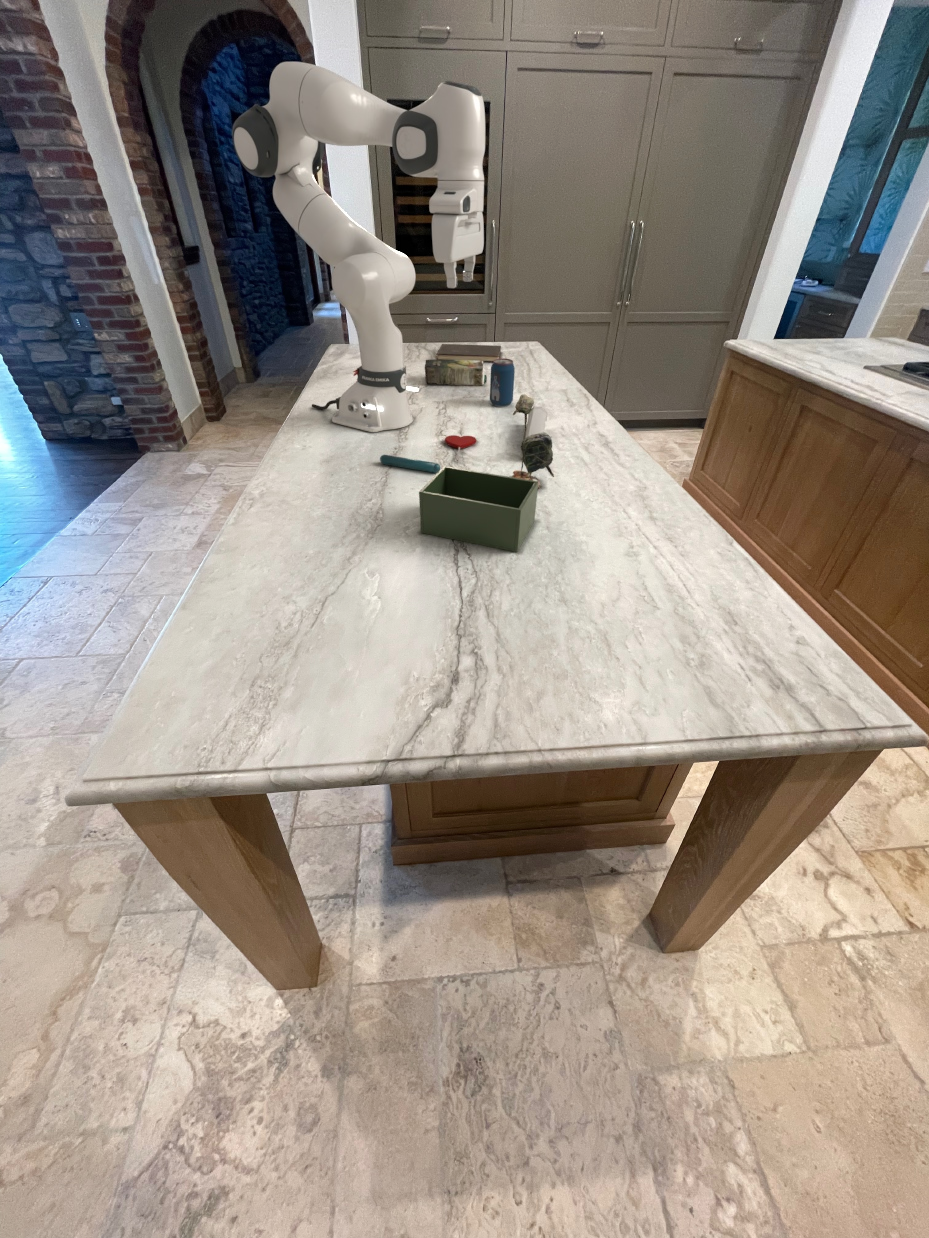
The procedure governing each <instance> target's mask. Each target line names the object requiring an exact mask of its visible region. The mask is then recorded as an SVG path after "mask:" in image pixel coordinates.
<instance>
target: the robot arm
mask: <svg viewBox="0 0 929 1238" xmlns="http://www.w3.org/2000/svg"><path fill="white" fill-rule="evenodd" d="M231 133H232V134H231V135H232V136H231V137H232V145H233V148H234V152H235V154H236V156H237V158H238V160H239V162H240V163H241V165H242V166H243V168H244V169H245V170H246V171H247V172H248V173H249V174H250V175H252V176H254V177H259V178H270V177H273V176H275V180H274V182H273V186H272V198H273V201H274V204H275V205H276V208H277V209H278V210H279V212H280V214H281V215H282V216H283V217H284V219H285V220H286V221H287V224H289V226H290V227H291V228H292V229H293V230H294V231H295V233H296V234H297V235H298V236H299V237H300V238H301V239H302V240H303V241H304V242H305V243H306V244H307V245H308V246H309V247H310V249H311V250H313V251H314V252H315V253H316V254H317V255H318V257H320V259H322V261H323V262H324V263H326V264H327V265H329V266H331V267H334V268H333V270H332V273H331V287H332V291H333V294H334V296H335V298H336V300H337V301H338V303H339V304H340V305H341V306H343V307H344V308H345V309H346V311H347V312H348V314H349V316H350V318H351V320H352V323H353V325H354V328H355V331H356V335H357V341H358V347H359V356H360V364H361V365H360V366H358V367H357V368H356V369H355V370H353V371H352V372H353V376H354V377H355V376H357V378H356V381H355V382H354V383H353V384H352V385H350V386H349V387H348V389H347V390H345V391H344V392H343V393H342V394H341V395H340V396H339V397H337V398H335V399H331V400H329V401H328V402H326V404H325V405H323V406H322V405H319V404H318V405H317V404H315V403H312V404H311V408H313V409H316V410H320V411H325V410H328V408H329V407H330V406H331V405H336V410H337V411H336V412H335V413H334V414H332V417H331V422H332V423H333V424H338V425H340V426H345V427H349V428H354V429H357V430H360V431H364V432H369V433H377V432H382V431H388V430H389V431H390V430H397V429H401V428H405V427H407V426H409V425H411V424H412V423H413V422H414V417H413V414H412V412H411V408H410V404H409V403H410V402H409V399H408V398H409V397H408V392H407V391H411V392H416V393H417V392H419V388H418V387H414V386H408V378H407V368H406V365H405V359H404V343H403V333H402V332H401V330H400V329H399V327H397V326H396V325H395V323H394V321H393V317H392V316H391V311H390V304H394V303H397V302H400V301H402V300H403V299H404V298H406V297H407V296H408V295H409V294H410V293H411V292H412V291H413V289H414V287H415V285H416V270H415V267H414V264H413V262H412V260H411V259H410V257H408V256H407V255H406V254H405V253H403V252H401V251H398V250H396V249H395V248H393V247H390V246H389V245H388V244H386V243H385V242H384V241H382V240H380V239H379V238H378V237H376V236H375V235H373V234H372V233H370V232H369V231H368V230H366V229H365V228H364V227H362V226H361V225H360V224H358V223H357V222H356V221H355V220H354V219H352V217H351V216H350V215H348V214H347V212H346V211H345V210H344V209H342V207H341V206H340V205H339V204H338V203H337V202H336V201H335V200H334V199H333V198H332V197H331V196H330V195H329V194H328V193H327V191H325V190H324V188H322V187H321V186H320V185H319V183H318V182H317V181H316V178H315V176H314V175H316V174H317V173H319V172H320V171H321V169H322V166H323V161H322V160H323V158H324V156H325V153H326V152H325V151H326V145H331V146H339V147H356V146H385V147H386V146H387V147H392V152H393V153H392V154H393V156H394V159H395V162H396V164H397V165H398V167H399V169H400V170H401V171H402V172H403V173H404V174H406V175H409V176H412V177H416V178H432V179H433V178H434V179H435V178H436V179H437V187H436V189H435V192H434V193H433V195H432V196H431V197H430V198H429V202H428V205H429V206H428V208H429V212H430V214H433V215H432V217H431V240H432V253H433V257H434V260H435V262H436V263H441V264H443V269H444V270H443V271H444V273H445V277H446V287H447V288H448V289H455V288H457V287H458V276H457V272H456V268H457V262H458V261H462V260H463V261H464V268H463V271H462V281H463V282H466V283H467V282H469V283H470V282H472V281H473V279H474V269H475V265H476V256H478V255H480V254H482V253H483V250H484V245H485V230H484V229H485V228H484V225H485V224H484V214H483V212H484V201H485V199H484V197H485V175H484V174H485V173H484V169H483V168H484V167H483V165H484V163H483V162H484V157H485V152H486V112H485V103H484V97H483V95H482V92H481V91H480V90H479V89H478V88H477V87H475V86H473V85H471V84H470V85H469V84H465V83H460V82H456V81H451V80H444V81H442V82H441V83H440V84H439V85H438V86H437V89H436V91H435V92H434V93H433V94H432V95H431V96H429V98H427V100H425V101H424V102H422V103H420V104H419V105H417V106H415V107H413V108H411V109H405V108H403V107H401V106H397V105H394V104H391V103H389V102H387V101H385V100H384V99H382V98H380V97H379V96H376V95H374V94H373V93H371V92H369V91H368V90H365V89H363V88H362V87H361V86H359V85H357V84H356V83H354V82H352V81H351V80H348V79H347V78H345V77H344V76H342V75H340V74H339V73H336V72H334V71H332V70H330V69H328V68H325V67H322V66H320V65H317V64H312V63H307V62H302V61H282V62H280V63H279V64H277V65H276V66H275V67H274V68H273V70H272V73H271V75H270V79H269V101H268V102H267V104H265V105H262V106H261V105H260V104H258V103H254V105H253V106H252V107H250V108H249V109H247V110H246V111H245V112H243V113H242V114H241V115H239V116H238V118H236V119H235V121H234V122H233V124H232V130H231Z"/></svg>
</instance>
